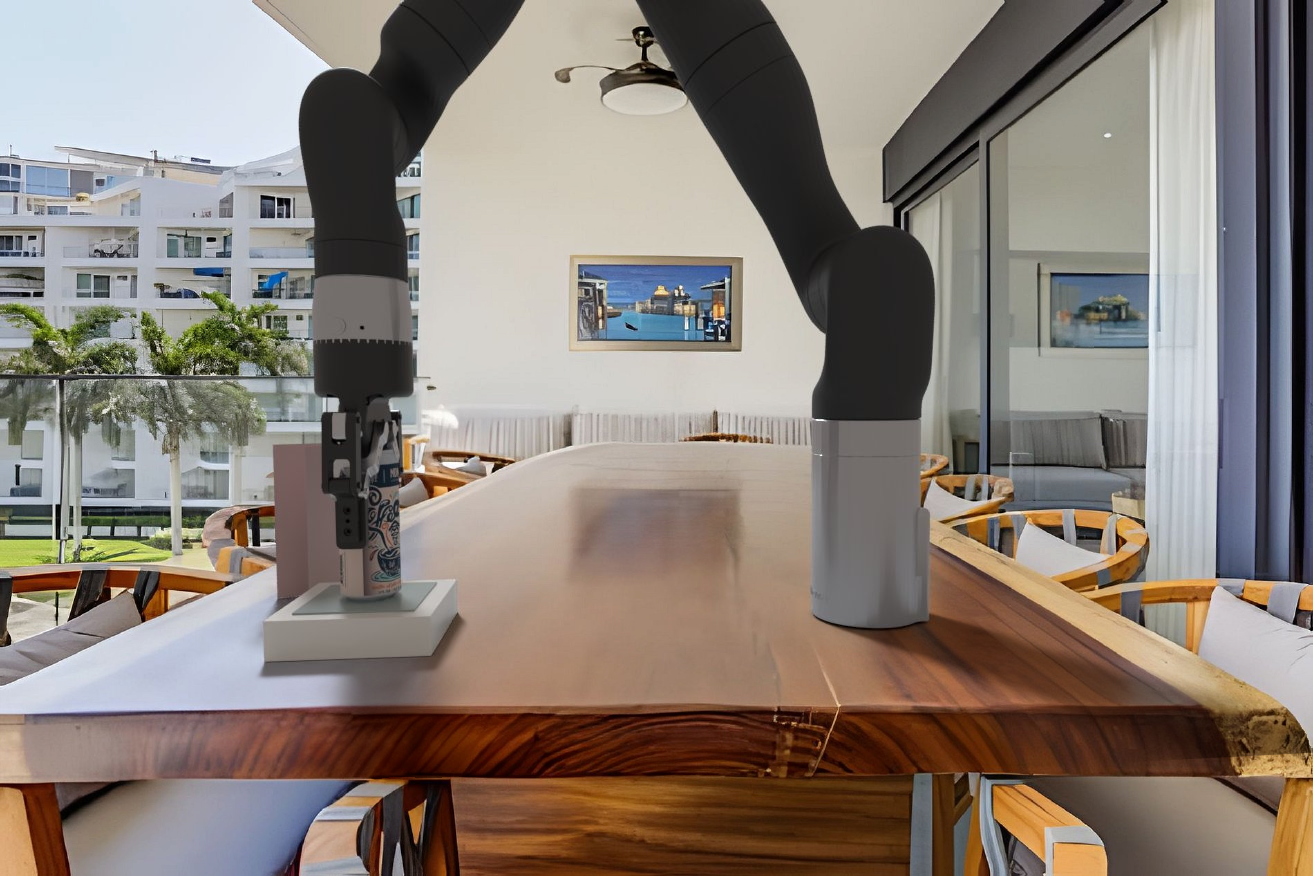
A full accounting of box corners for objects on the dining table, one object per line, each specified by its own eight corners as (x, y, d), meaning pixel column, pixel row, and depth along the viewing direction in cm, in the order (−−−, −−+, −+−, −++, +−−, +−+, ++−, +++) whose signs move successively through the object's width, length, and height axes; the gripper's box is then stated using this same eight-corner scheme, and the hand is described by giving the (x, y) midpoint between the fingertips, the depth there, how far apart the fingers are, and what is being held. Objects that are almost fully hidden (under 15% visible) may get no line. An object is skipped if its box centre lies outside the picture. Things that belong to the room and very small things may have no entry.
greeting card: (396, 581, 81) (392, 440, 81) (413, 596, 75) (410, 443, 74) (276, 596, 76) (271, 444, 75) (284, 614, 69) (279, 447, 68)
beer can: (381, 605, 60) (377, 452, 59) (326, 602, 61) (322, 451, 60) (412, 590, 65) (409, 448, 64) (361, 587, 66) (358, 447, 65)
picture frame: (457, 612, 69) (457, 577, 69) (431, 655, 57) (430, 614, 57) (320, 616, 68) (319, 581, 68) (264, 661, 56) (262, 619, 56)
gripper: (389, 330, 55) (394, 555, 56) (429, 345, 69) (433, 524, 70) (280, 330, 54) (286, 557, 55) (343, 345, 68) (348, 525, 69)
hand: (368, 538), depth 63 cm, fingers open, 8 cm apart
